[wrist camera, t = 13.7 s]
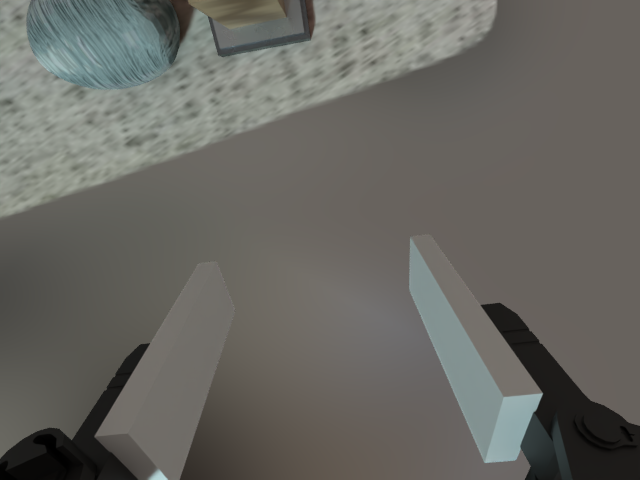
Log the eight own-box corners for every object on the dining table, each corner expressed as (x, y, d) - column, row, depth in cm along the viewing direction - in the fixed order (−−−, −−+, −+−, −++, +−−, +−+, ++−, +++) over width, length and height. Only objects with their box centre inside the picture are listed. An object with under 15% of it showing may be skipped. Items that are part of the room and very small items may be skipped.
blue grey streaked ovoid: (156, -66, 26) (89, -28, 21) (211, 50, 34) (173, 100, 28) (48, -30, 30) (-33, 10, 24) (119, 67, 37) (70, 114, 32)
